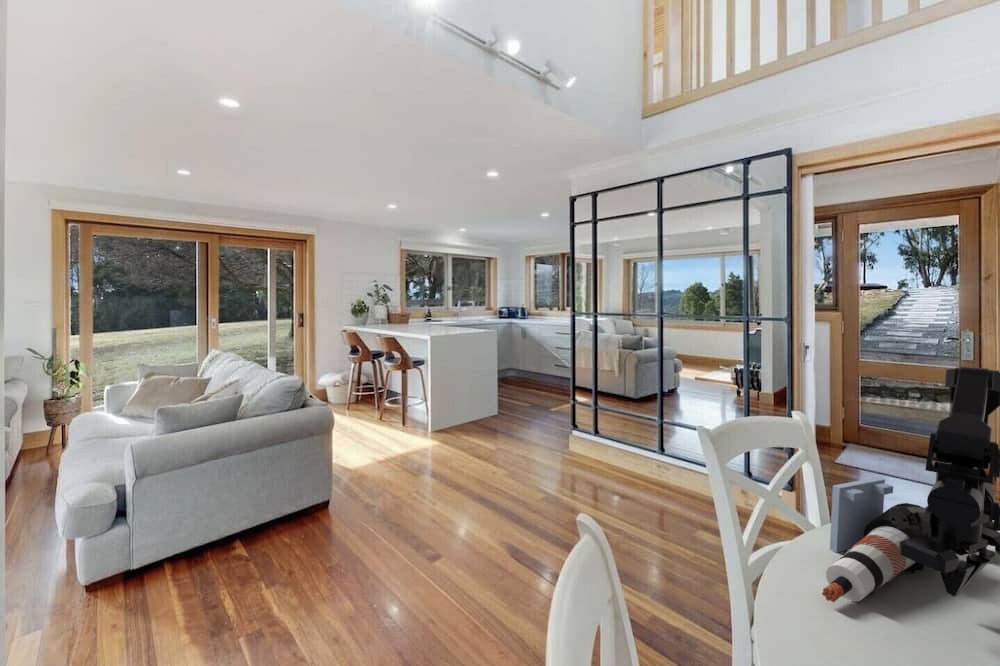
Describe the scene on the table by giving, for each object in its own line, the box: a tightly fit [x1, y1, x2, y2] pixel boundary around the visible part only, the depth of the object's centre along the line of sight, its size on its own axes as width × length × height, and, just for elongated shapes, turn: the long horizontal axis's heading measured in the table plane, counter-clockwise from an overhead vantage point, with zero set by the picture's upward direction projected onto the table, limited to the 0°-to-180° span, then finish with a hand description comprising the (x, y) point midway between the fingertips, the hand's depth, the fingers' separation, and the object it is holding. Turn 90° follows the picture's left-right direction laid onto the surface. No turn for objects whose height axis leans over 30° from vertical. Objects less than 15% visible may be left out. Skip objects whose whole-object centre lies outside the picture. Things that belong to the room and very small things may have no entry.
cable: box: [821, 502, 936, 603], centre depth 86 cm, size 10×34×10 cm, turn 118°
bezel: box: [829, 476, 894, 553], centre depth 97 cm, size 14×4×14 cm, turn 109°
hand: (952, 594), depth 77 cm, fingers closed
